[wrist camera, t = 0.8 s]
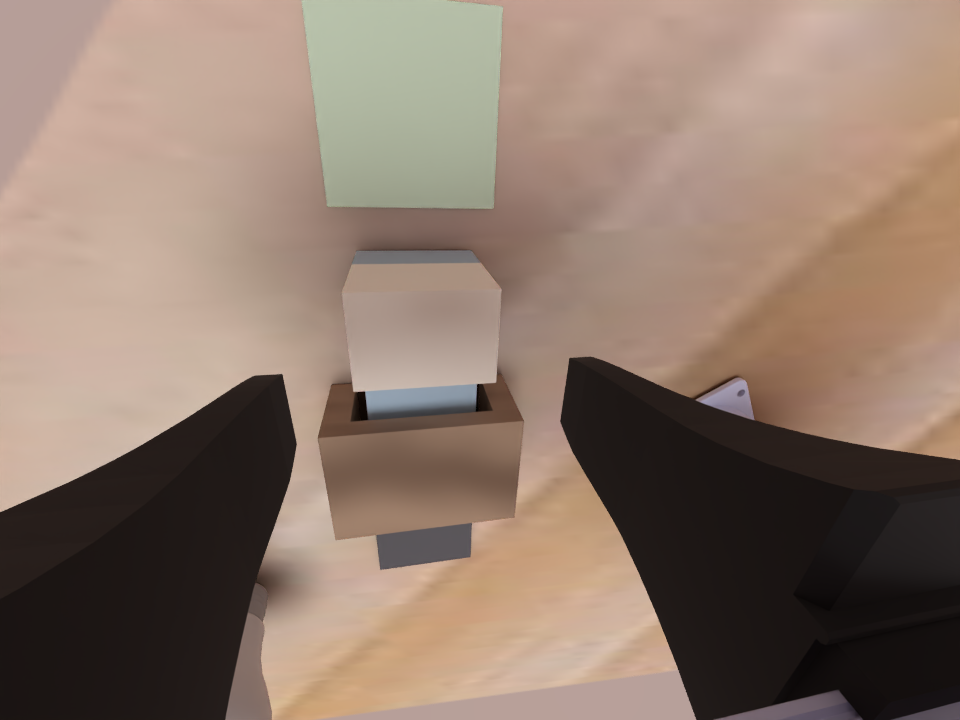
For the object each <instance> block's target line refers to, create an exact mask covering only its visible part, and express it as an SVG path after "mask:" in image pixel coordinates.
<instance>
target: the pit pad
mask: <svg viewBox="0 0 960 720" xmlns="http://www.w3.org/2000/svg"><path fill="white" fill-rule="evenodd" d="M471 525H472V523H467V524H459V525H451V526H443V527H435V528H427V529H420V530H412V531H404V532H396V533H388V534H380V535H376V536H377V545H378V554H379V563H380V570H382V569H390V568H397V567H404V566H411V565H418V564H425V563H432V562H439V561H446V560H453V559H460V558H467V557H470V554H471Z"/></svg>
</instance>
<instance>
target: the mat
mask: <svg viewBox="0 0 960 720" xmlns="http://www.w3.org/2000/svg"><path fill="white" fill-rule="evenodd" d="M301 1H302V9H303V17H304V25H305V33H306V41H307V49H308V57H309V65H310V73H311V81H312V89H313V97H314V105H315V113H316V121H317V129H318V137H319V145H320V153H321V161H322V169H323V177H324V185H325V193H326V201H327V207H380V208H457V209H494V190H495V168H496V146H497V124H498V102H499V81H500V59H501V37H502V15H503V6H495V5H486V4H476V3H466V2H457V1H447V0H301Z"/></svg>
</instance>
